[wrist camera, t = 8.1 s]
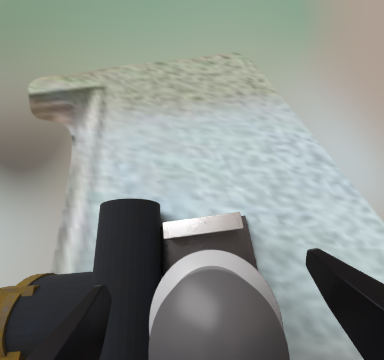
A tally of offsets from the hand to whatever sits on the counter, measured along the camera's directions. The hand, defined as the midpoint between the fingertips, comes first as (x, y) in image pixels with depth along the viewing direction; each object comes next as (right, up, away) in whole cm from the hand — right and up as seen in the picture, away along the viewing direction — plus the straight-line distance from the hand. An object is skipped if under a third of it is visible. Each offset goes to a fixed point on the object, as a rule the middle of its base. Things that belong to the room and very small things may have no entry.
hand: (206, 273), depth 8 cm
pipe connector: (-8, -6, +8) cm, 13 cm away
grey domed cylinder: (+1, -4, +7) cm, 8 cm away
